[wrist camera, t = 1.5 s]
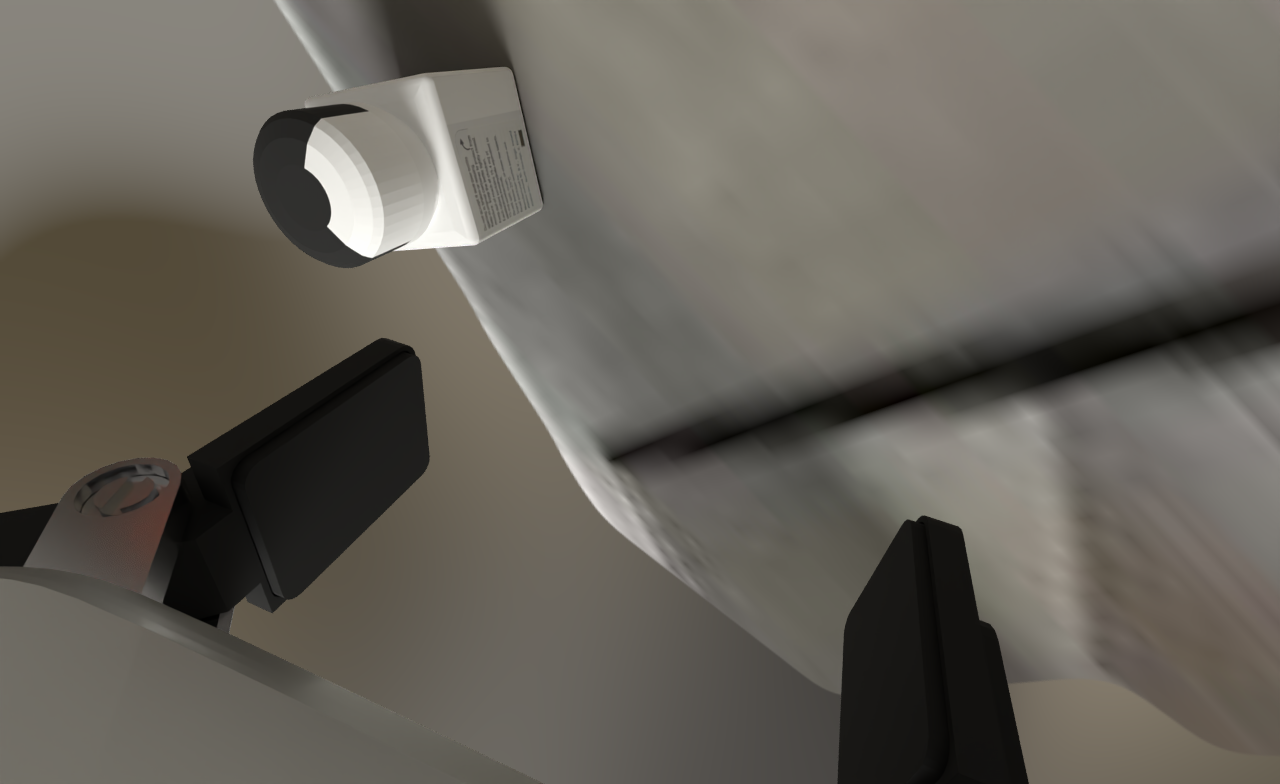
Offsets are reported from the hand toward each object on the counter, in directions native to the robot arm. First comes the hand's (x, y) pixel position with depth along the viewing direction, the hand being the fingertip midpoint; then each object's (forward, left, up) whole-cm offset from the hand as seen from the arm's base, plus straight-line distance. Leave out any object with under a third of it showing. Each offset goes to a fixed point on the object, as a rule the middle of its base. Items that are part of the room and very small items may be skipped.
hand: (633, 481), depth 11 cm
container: (+18, -3, -24) cm, 30 cm away
